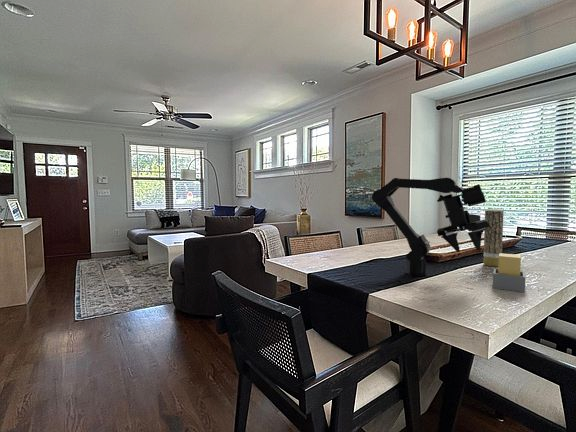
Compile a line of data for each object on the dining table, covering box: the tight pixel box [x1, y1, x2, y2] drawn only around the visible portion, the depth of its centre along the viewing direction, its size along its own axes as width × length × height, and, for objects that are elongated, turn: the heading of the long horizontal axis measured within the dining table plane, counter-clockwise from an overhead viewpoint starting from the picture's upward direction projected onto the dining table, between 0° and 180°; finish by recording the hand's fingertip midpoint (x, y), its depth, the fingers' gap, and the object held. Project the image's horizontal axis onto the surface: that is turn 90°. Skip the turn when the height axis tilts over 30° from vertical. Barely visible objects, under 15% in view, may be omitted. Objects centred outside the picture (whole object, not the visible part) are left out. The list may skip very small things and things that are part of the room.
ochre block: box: [497, 252, 522, 276], centre depth 107 cm, size 6×6×11 cm
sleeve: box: [492, 267, 527, 293], centre depth 107 cm, size 9×9×5 cm
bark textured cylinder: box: [482, 208, 504, 268], centre depth 138 cm, size 7×7×25 cm
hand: (468, 250), depth 114 cm, fingers open, 9 cm apart
